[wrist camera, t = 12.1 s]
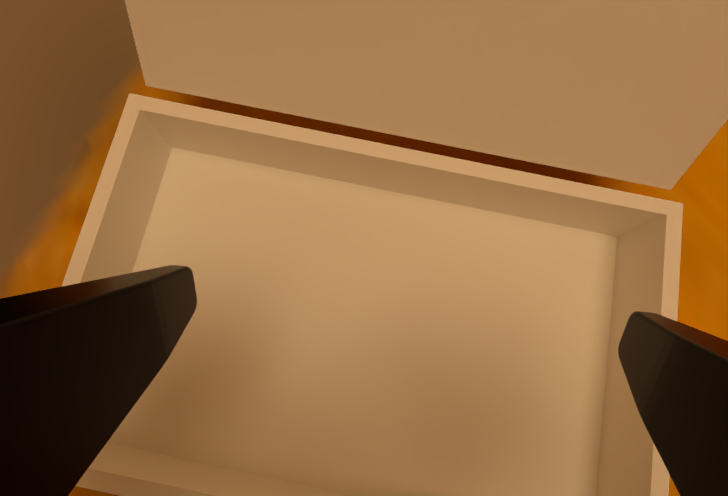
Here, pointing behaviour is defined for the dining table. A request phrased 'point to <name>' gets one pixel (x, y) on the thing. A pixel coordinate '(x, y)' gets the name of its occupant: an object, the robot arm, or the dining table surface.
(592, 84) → the flap
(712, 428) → the robot arm
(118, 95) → the dining table surface
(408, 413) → the carton
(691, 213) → the dining table surface
